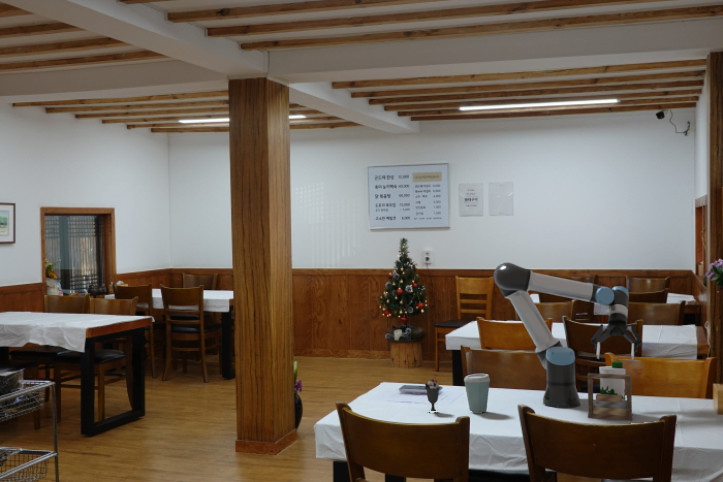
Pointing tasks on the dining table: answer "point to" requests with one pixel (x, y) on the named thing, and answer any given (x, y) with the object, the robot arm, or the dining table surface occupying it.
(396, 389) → the dining table surface
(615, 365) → the soya milk
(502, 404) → the dining table surface
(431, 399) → the sundae
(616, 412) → the offcut rack
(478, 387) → the disposable coffee cup
